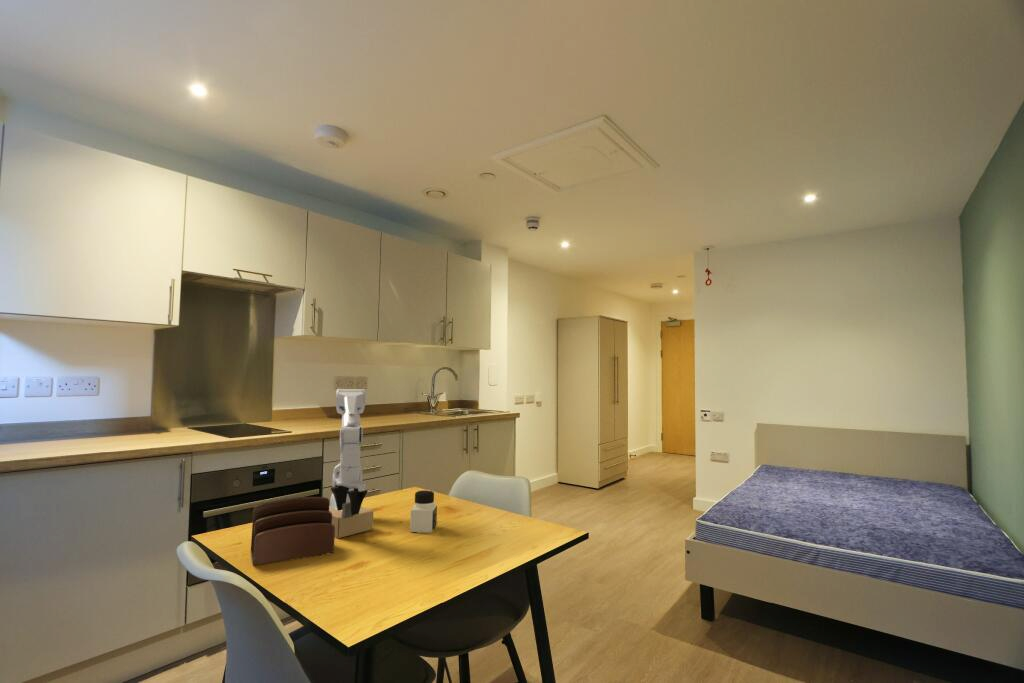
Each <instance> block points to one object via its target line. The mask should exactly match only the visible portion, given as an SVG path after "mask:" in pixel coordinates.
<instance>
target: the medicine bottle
mask: <svg viewBox="0 0 1024 683" xmlns="http://www.w3.org/2000/svg"><path fill="white" fill-rule="evenodd" d="M437 512H438V504H435V492H434V491H432V490H429V489H428V490H427V489H424V490H423V489H422V490H418V491H416V492H415V493H414V505H413V507H412V508H411V509H410V529H409V532H410V533H411V532H417V533H416V534H418V533H419V534H432V532H433V533H434V531H435V529H436V528H437V525H438V524H437V521H438V520H437V518H438V517H437V515H438V514H437Z"/></svg>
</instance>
